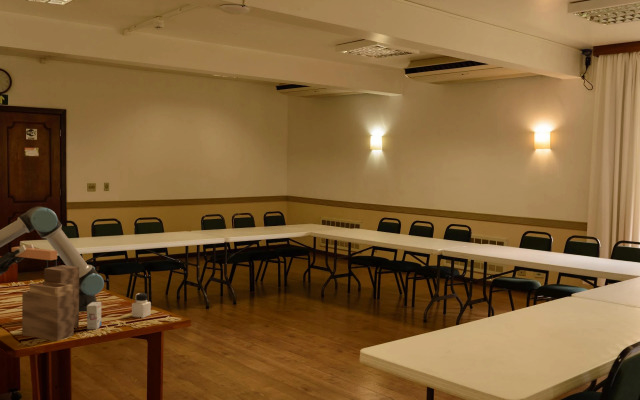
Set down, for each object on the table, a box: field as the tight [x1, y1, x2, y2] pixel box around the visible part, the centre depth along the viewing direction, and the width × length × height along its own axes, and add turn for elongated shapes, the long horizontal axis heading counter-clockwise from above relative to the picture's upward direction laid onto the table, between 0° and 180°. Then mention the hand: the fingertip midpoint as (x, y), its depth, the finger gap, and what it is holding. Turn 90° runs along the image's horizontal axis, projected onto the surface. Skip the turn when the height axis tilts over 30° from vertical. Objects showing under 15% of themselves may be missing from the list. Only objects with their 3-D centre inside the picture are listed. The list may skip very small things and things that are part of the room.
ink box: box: [86, 301, 102, 330], centre depth 302 cm, size 9×5×12 cm, turn 5°
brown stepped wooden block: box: [21, 264, 80, 342], centre depth 291 cm, size 22×21×30 cm
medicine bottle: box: [131, 292, 152, 319], centre depth 327 cm, size 7×7×12 cm
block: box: [11, 246, 58, 261], centre depth 286 cm, size 4×24×4 cm, turn 68°
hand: (28, 247), depth 287 cm, fingers closed on block, 4 cm apart
